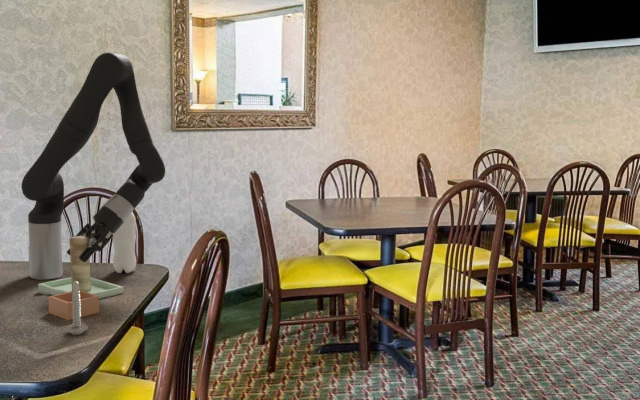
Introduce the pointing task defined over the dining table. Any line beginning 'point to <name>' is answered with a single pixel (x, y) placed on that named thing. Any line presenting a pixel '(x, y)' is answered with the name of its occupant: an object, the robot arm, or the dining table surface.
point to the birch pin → (80, 263)
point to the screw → (76, 313)
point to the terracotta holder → (63, 304)
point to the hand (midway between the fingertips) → (75, 257)
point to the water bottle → (125, 246)
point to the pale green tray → (97, 288)
